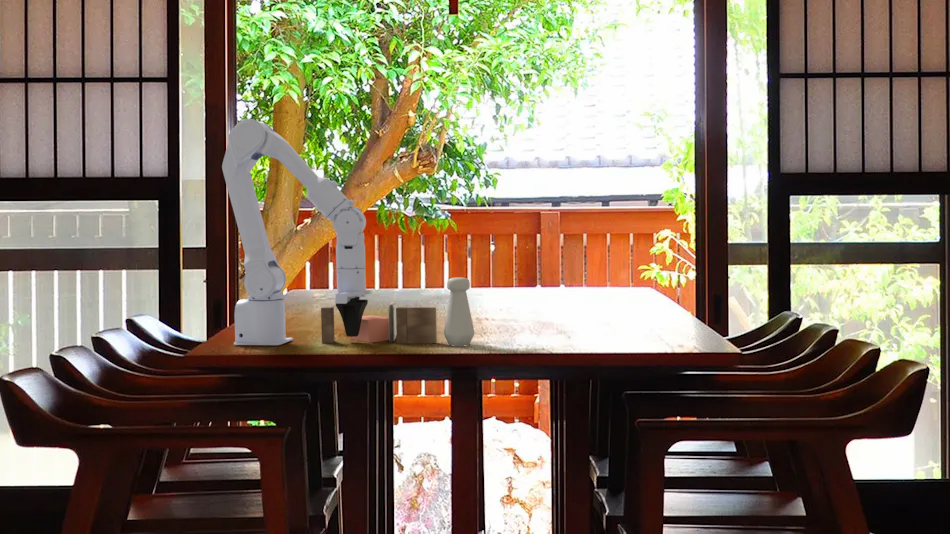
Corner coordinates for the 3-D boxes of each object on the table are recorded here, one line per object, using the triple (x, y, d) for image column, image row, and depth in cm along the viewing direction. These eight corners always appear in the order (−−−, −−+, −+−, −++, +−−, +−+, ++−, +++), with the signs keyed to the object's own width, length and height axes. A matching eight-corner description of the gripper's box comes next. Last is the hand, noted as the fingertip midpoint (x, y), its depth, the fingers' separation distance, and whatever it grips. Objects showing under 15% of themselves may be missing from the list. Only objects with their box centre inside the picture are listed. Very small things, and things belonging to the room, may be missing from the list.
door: (392, 333, 196) (391, 301, 196) (397, 333, 196) (396, 301, 196) (388, 340, 185) (388, 307, 185) (394, 340, 185) (393, 307, 185)
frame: (321, 342, 186) (320, 305, 186) (325, 341, 188) (324, 304, 188) (435, 343, 182) (434, 305, 182) (437, 342, 184) (436, 304, 184)
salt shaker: (470, 347, 177) (469, 278, 176) (441, 346, 178) (440, 278, 178) (477, 342, 183) (476, 276, 182) (448, 342, 184) (447, 276, 183)
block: (351, 339, 191) (350, 317, 191) (372, 336, 194) (371, 315, 194) (368, 342, 186) (368, 320, 186) (390, 340, 189) (389, 318, 189)
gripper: (360, 270, 178) (361, 341, 179) (380, 265, 192) (381, 331, 193) (324, 270, 179) (326, 341, 180) (346, 265, 193) (348, 331, 194)
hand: (352, 336), depth 186 cm, fingers closed
